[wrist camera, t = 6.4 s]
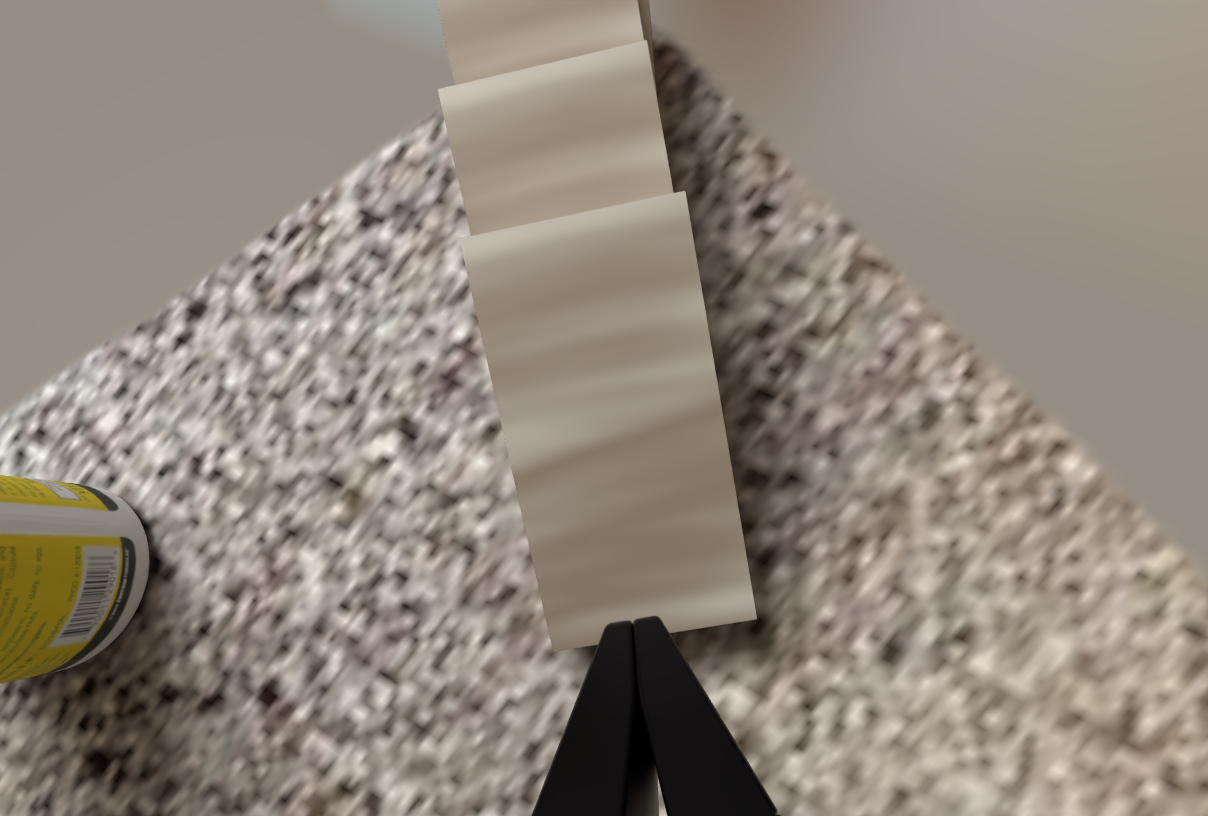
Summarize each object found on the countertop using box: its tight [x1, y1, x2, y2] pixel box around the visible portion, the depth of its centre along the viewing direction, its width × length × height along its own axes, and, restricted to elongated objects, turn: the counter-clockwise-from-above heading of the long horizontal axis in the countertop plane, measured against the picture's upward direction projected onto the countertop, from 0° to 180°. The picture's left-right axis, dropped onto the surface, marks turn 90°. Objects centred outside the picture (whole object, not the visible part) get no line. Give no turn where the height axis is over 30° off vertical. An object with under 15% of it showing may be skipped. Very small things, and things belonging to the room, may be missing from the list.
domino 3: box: [437, 0, 644, 85], centre depth 17 cm, size 2×5×10 cm
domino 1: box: [459, 191, 757, 652], centre depth 15 cm, size 2×5×10 cm
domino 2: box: [438, 40, 674, 236], centre depth 16 cm, size 2×5×10 cm
